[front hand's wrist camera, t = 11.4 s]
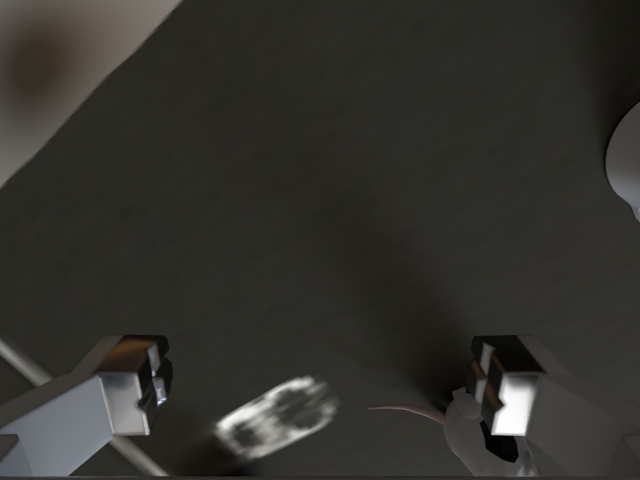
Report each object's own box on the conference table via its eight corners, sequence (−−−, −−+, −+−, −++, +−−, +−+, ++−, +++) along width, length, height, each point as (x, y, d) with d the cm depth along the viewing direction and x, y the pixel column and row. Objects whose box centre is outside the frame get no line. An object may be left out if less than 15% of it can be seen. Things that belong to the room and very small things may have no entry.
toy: (500, 433, 63) (552, 530, 49) (358, 412, 62) (370, 506, 48) (520, 390, 60) (581, 480, 46) (371, 367, 59) (388, 453, 45)
